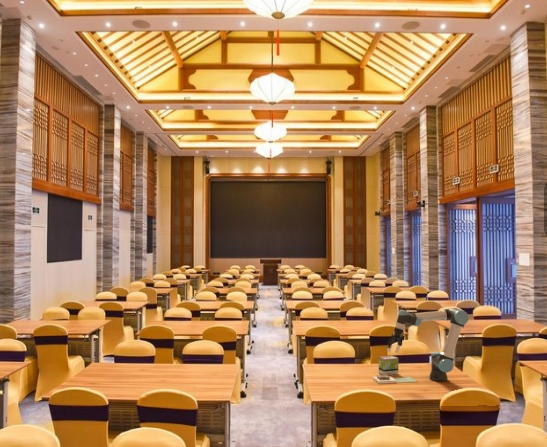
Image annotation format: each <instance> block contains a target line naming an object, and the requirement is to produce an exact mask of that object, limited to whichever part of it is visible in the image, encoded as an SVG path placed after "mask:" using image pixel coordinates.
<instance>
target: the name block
mask: <svg viewBox="0 0 547 447" xmlns="http://www.w3.org/2000/svg"><path fill="white" fill-rule="evenodd" d="M389 376H390V375H382V374H381V375H380V374H379V375H376V377H377V378H378V379H379V380H388V379H390V377H389Z"/></svg>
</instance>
